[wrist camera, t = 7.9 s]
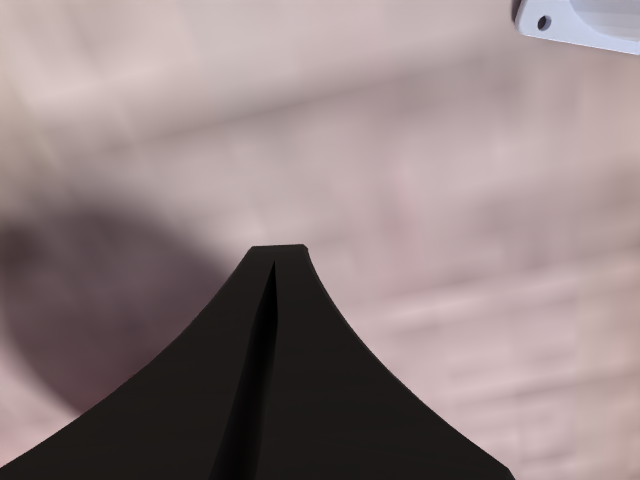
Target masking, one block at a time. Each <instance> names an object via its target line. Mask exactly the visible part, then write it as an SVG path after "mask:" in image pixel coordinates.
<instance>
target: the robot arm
mask: <svg viewBox="0 0 640 480" xmlns="http://www.w3.org/2000/svg"><path fill="white" fill-rule="evenodd" d="M543 16H545V18H546V24H545V25H544V27H543V28H542V29H540V30H539V29H538V27H537V24H538V21H539V19H540V18H541V17H543ZM515 29H516V31H517V32H518V33H519V34H521V35H526V36H531V37H537V38H543V39H549V40H555V41H561V42H566V43H572V44H578V45H584V46H590V47H595V48H601V49H607V50H613V51H619V52H624V53H630V54H636V55H640V0H522V1H521V4H520V7H519V10H518V13H517V16H516V18H515ZM0 480H515V478H514V477H513V475H512V473H511V472H510V470H509V469H508V468H507V467H506V466H504V465H503V464H502V463H500V462H499V461H497V460H496V459H495V458H493V457H492V456H491V455H489V454H488V453H487V452H485V451H484V450H482V449H481V448H480V447H478V446H477V445H476V444H474V443H473V442H472V441H470V440H469V439H467V438H466V437H465V436H463V435H462V434H461V433H459V432H458V431H457V430H456V429H454V428H453V427H452V426H450V425H449V424H448V423H447V422H446V421H445V420H443V419H442V418H441V417H440V416H439V415H437V414H436V413H435V412H434V411H433V410H431V409H430V408H429V407H428V406H427V405H425V404H424V403H423V402H422V401H421V400H420V399H419V398H418V397H417V396H416V395H415V394H413V393H412V392H411V391H410V390H409V389H408V388H407V387H406V386H405V385H404V384H403V383H402V382H401V381H400V380H399V379H398V378H396V377H395V376H394V375H393V374H392V373H391V372H390V371H389V370H388V369H387V368H386V367H385V366H384V365H383V364H382V363H381V362H380V360H379V359H378V358H377V357H376V356H375V355H374V354H373V353H372V352H371V351H370V350H369V348H368V347H367V346H366V345H365V344H364V343H363V341H362V340H361V339H360V338H359V337H358V335H357V334H356V333H355V332H354V330H353V329H352V328H351V327H350V325H349V324H348V323H347V321H346V320H345V318H344V317H343V316H342V314H341V313H340V311H339V310H338V309H337V307H336V306H335V304H334V302H333V301H332V299H331V298H330V296H329V294H328V293H327V291H326V289H325V288H324V286H323V284H322V282H321V281H320V279H319V277H318V275H317V273H316V271H315V269H314V266H313V264H312V262H311V259H310V256H309V253H308V248H307V247H306V246H305V245H303V244H295V245H273V246H252V247H251V248H250V249H249V250H248V252H247V253H246V255H245V256H244V258H243V259H242V261H241V262H240V264H239V265H238V266H237V268H236V269H235V270H234V272H233V273H232V275H231V276H230V277H229V279H228V280H227V281H226V282H225V284H224V285H223V286H222V288H221V289H220V290H219V291H218V293H217V294H216V295H215V296H214V298H213V299H212V300H211V301H210V302H209V304H208V305H207V306H206V307H205V308H204V309H203V310H202V311H201V312H200V314H199V315H198V316H197V317H196V318H195V319H194V320H193V321H192V322H191V324H190V325H189V326H188V327H187V328H186V329H185V330H184V331H183V332H182V333H181V334H180V335H179V336H178V337H177V338H176V339H175V340H174V341H173V342H172V343H171V344H170V345H169V346H168V347H167V348H166V349H164V350H163V351H162V352H161V353H160V354H159V355H158V356H157V357H156V358H155V359H154V360H152V361H151V362H150V363H149V364H148V365H146V366H145V367H144V368H143V369H141V370H140V371H139V372H138V373H136V374H135V375H134V376H133V377H131V378H130V379H129V380H128V381H126V382H125V383H124V384H123V385H121V386H120V387H119V388H118V389H116V390H115V391H114V392H113V393H111V394H110V395H109V396H108V397H106V398H105V399H104V400H102V401H101V402H99V403H98V404H97V405H95V406H94V407H92V408H91V409H90V410H88V411H87V412H86V413H84V414H83V415H81V416H80V417H79V418H77V419H76V420H74V421H73V422H71V423H70V424H68V425H67V426H65V427H64V428H62V429H61V430H59V431H58V432H56V433H55V434H53V435H52V436H51V437H49V438H47V439H46V440H44V441H43V442H41V443H40V444H38V445H37V446H35V447H34V448H32V449H30V450H29V451H27V452H26V453H24V454H22V455H21V456H19V457H17V458H16V459H14V460H12V461H11V462H9V463H7V464H6V465H4V466H3V467H1V468H0Z"/></svg>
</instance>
